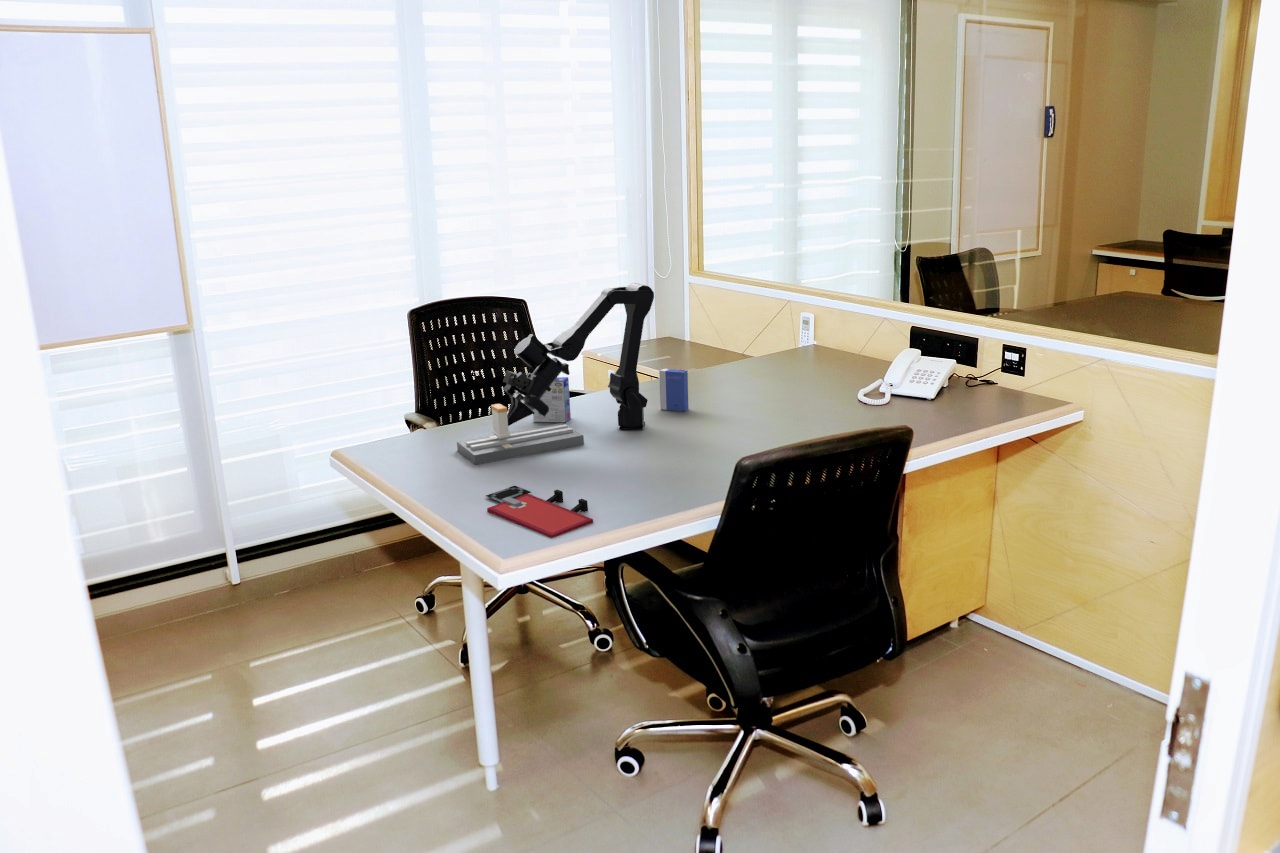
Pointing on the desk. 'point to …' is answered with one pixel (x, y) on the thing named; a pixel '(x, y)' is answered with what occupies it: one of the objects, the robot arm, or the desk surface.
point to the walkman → (674, 389)
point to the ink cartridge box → (556, 402)
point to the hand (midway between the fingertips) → (505, 424)
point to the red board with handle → (538, 511)
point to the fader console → (519, 443)
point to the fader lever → (500, 421)
